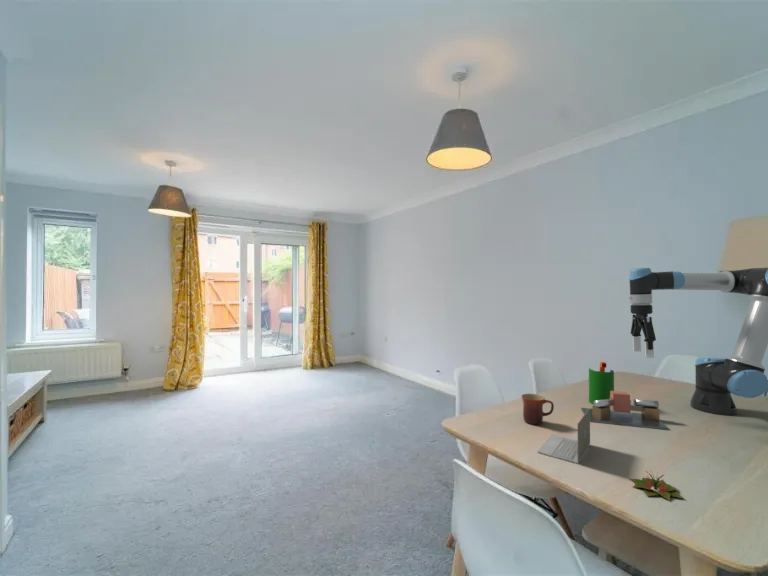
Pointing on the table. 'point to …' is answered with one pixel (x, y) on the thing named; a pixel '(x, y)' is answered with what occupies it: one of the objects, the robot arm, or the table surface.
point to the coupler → (620, 401)
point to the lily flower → (664, 488)
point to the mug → (534, 408)
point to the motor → (600, 383)
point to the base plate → (634, 416)
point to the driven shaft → (602, 409)
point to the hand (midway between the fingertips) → (643, 354)
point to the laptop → (569, 443)
